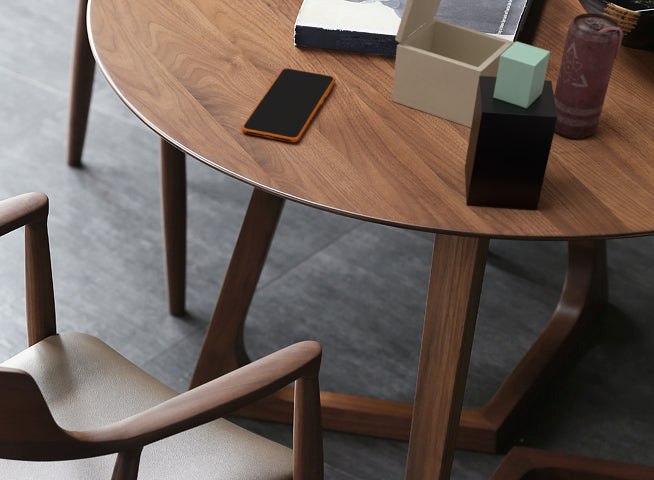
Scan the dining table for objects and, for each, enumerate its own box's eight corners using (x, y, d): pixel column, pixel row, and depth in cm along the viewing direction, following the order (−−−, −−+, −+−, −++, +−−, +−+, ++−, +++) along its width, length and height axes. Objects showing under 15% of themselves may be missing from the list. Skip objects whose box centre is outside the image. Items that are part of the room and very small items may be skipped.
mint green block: (541, 93, 118) (550, 51, 114) (526, 108, 115) (535, 65, 112) (508, 83, 119) (516, 40, 116) (492, 97, 117) (500, 55, 113)
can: (595, 144, 133) (622, 38, 124) (544, 134, 135) (567, 28, 125) (601, 120, 137) (628, 16, 128) (551, 111, 139) (574, 7, 129)
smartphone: (239, 133, 133) (239, 127, 132) (283, 72, 144) (283, 66, 144) (298, 144, 131) (298, 138, 131) (337, 82, 143) (337, 76, 142)
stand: (532, 172, 128) (551, 80, 120) (537, 210, 122) (557, 117, 114) (464, 167, 129) (479, 75, 120) (466, 205, 123) (482, 111, 115)
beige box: (504, 97, 141) (514, 41, 136) (471, 128, 135) (481, 71, 130) (426, 72, 146) (433, 17, 140) (391, 101, 140) (397, 45, 134)
